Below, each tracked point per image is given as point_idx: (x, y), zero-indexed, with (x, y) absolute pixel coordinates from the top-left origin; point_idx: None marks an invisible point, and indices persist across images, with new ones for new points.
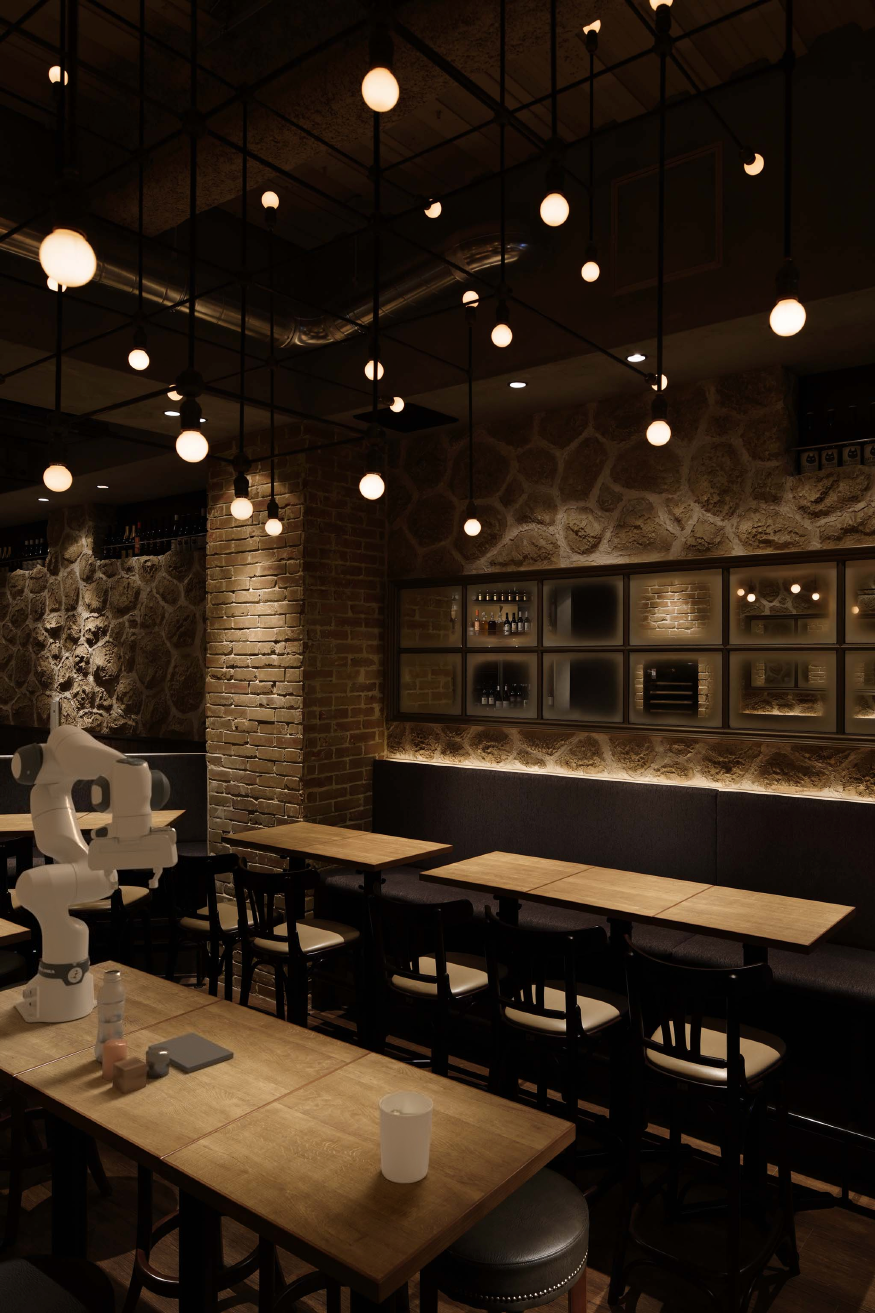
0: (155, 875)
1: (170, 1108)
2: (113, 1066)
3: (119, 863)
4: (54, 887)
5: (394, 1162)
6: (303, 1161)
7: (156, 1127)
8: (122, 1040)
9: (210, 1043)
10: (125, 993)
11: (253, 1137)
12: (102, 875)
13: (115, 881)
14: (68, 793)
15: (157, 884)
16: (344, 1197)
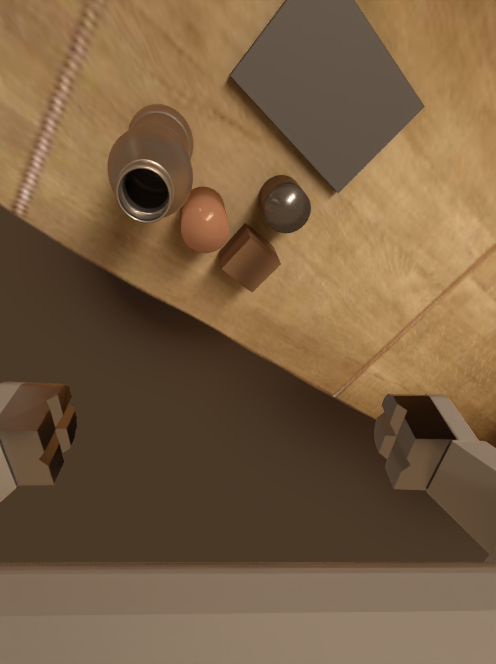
0: (481, 537)
1: (325, 306)
2: (221, 267)
3: None
4: None
5: None
6: (471, 387)
7: (316, 349)
8: (214, 216)
9: (374, 47)
10: (189, 165)
11: (428, 355)
12: None
13: (24, 452)
14: None
15: (449, 411)
16: (492, 424)
